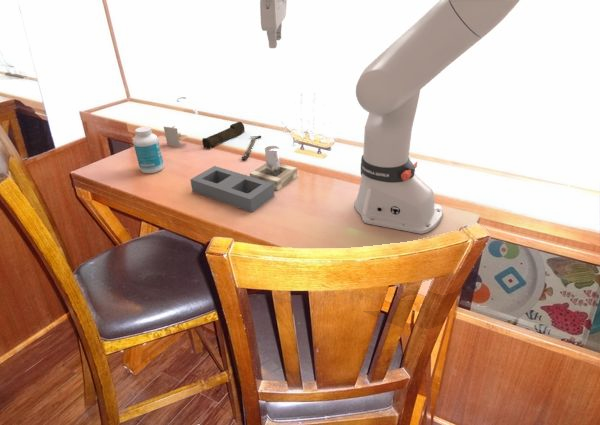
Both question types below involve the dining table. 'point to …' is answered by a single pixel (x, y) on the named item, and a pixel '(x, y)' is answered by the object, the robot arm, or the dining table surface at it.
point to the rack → (233, 188)
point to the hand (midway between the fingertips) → (275, 43)
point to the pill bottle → (148, 150)
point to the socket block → (279, 181)
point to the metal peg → (272, 160)
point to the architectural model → (173, 136)
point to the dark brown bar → (224, 135)
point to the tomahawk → (250, 147)
